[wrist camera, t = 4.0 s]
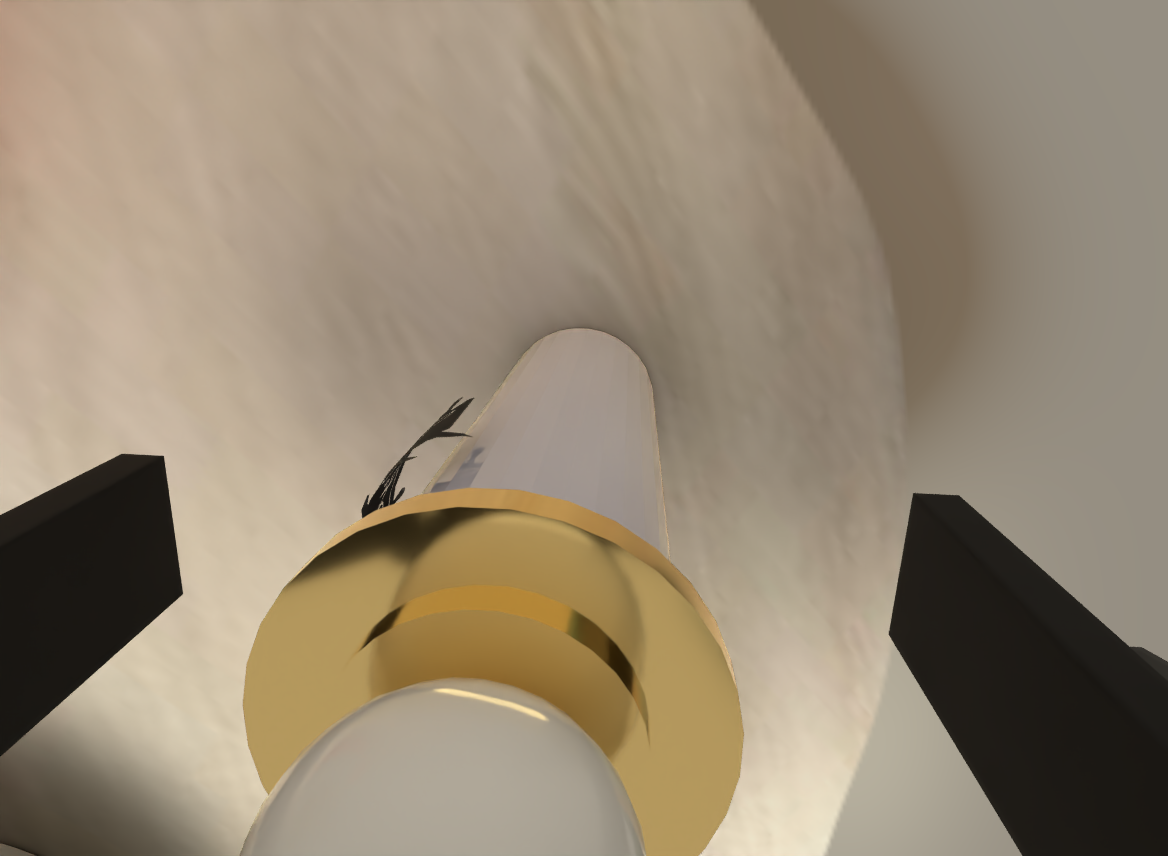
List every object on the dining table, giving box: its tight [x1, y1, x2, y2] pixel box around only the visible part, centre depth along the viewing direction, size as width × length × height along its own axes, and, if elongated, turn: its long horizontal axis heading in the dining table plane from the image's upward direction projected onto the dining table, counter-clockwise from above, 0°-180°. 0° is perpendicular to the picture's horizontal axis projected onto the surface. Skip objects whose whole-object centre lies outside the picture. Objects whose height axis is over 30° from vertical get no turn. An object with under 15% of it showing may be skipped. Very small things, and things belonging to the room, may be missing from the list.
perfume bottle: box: [239, 328, 744, 856], centre depth 14 cm, size 6×6×20 cm
